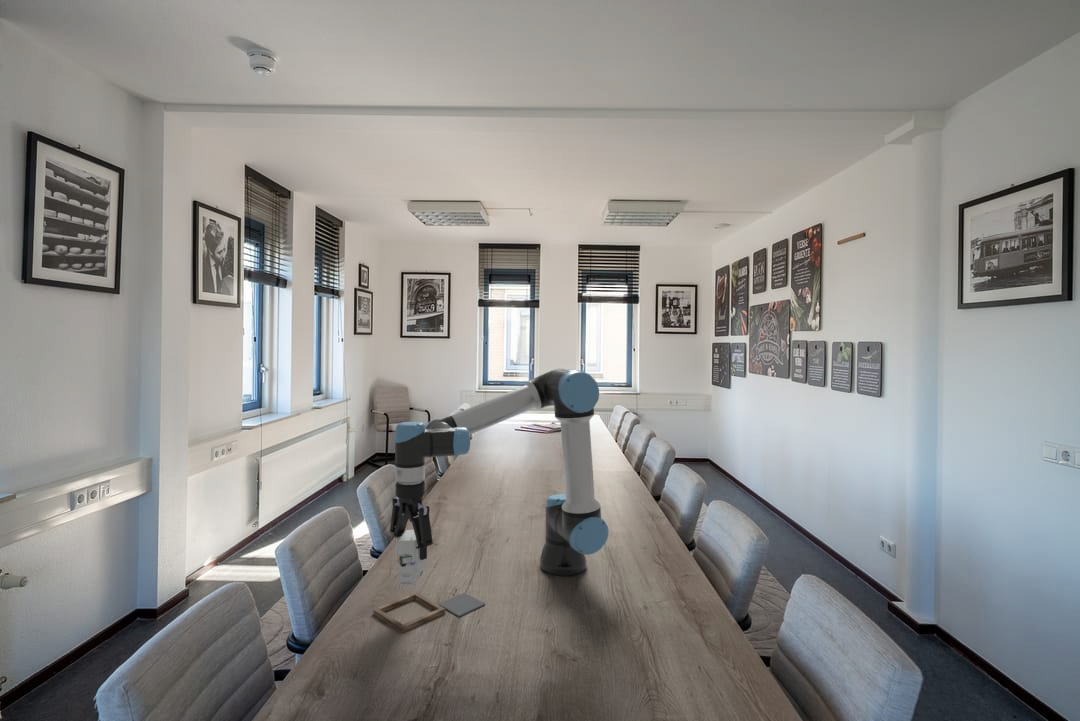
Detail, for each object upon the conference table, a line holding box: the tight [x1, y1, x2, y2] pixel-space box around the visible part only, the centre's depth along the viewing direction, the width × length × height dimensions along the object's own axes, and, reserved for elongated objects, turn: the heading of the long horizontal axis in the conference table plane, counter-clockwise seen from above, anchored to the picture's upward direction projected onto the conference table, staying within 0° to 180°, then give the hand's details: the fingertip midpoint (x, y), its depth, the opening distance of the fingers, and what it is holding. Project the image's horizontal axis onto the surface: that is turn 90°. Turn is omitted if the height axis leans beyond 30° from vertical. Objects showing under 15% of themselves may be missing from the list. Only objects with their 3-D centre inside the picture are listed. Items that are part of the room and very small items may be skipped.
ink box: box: [397, 529, 424, 586], centre depth 138 cm, size 8×5×12 cm, turn 179°
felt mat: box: [438, 592, 486, 618], centre depth 144 cm, size 9×9×1 cm
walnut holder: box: [372, 591, 446, 634], centre depth 139 cm, size 13×13×1 cm
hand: (410, 565), depth 138 cm, fingers closed on ink box, 9 cm apart
